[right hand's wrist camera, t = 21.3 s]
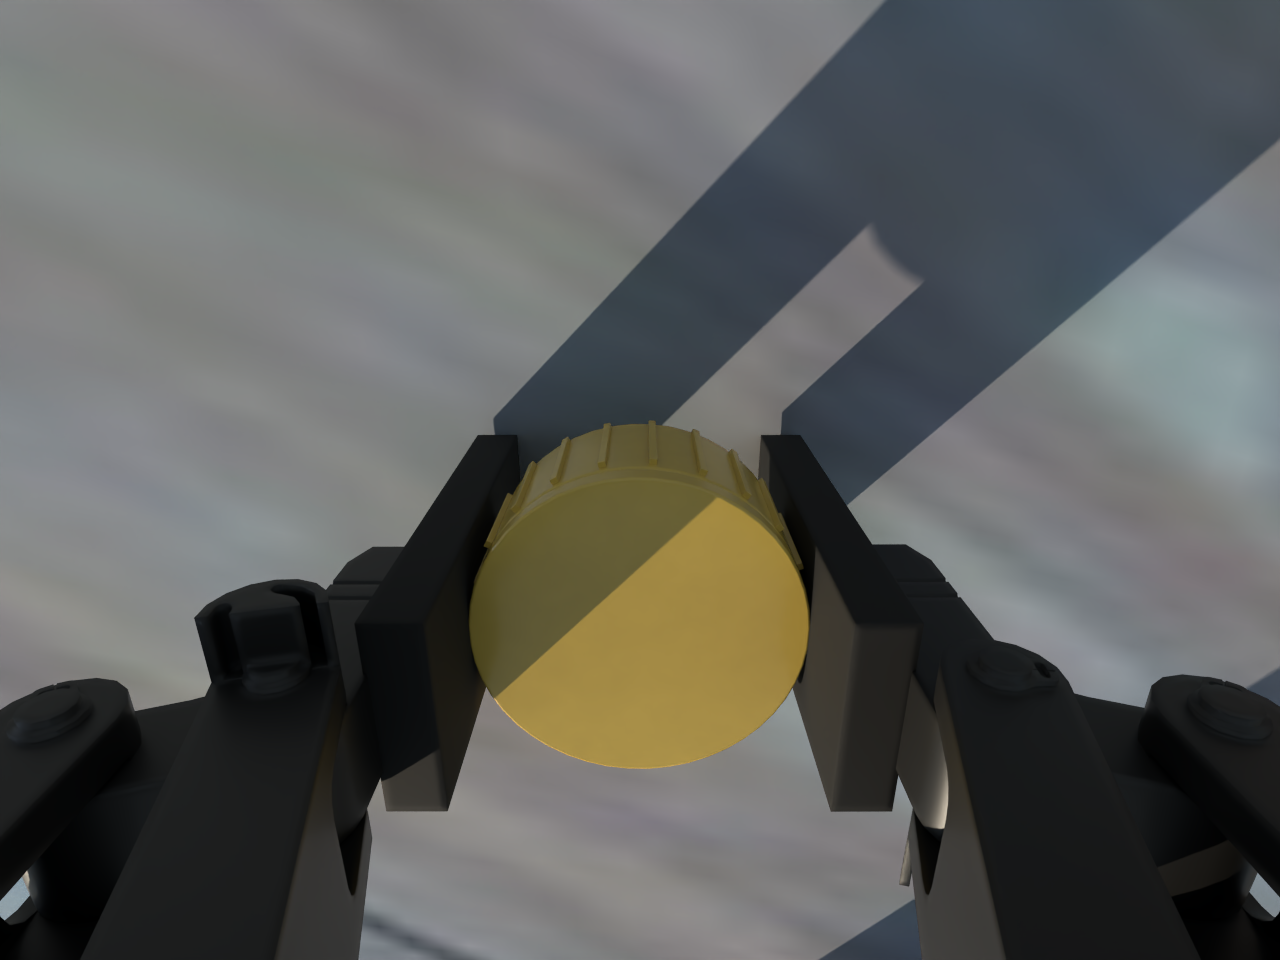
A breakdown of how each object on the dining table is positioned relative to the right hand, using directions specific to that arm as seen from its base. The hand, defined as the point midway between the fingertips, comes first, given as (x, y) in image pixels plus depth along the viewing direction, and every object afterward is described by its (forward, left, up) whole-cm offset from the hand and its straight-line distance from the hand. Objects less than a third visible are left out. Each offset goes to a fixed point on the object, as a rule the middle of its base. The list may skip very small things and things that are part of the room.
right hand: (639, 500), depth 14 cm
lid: (0, 0, +4) cm, 4 cm away
